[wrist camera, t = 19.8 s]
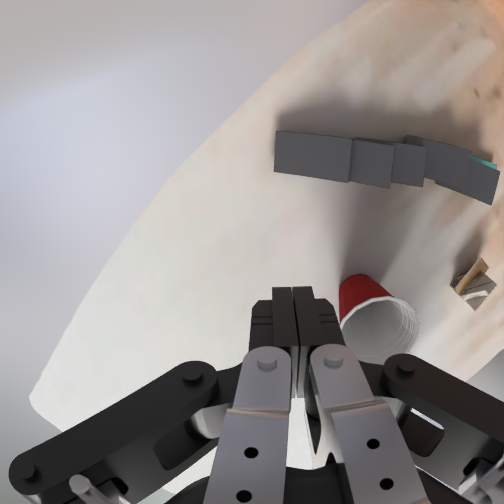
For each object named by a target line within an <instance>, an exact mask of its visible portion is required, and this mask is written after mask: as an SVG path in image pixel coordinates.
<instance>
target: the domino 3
mask: <svg viewBox="0 0 504 504" xmlns="http://www.w3.org/2000/svg"><path fill="white" fill-rule="evenodd" d="M356 140H360V141H367V142H373V143H379V144H385V145H391V146H395V152H394V161H393V169H392V177H391V182H393V183H400V184H406V185H412V186H418V187H423V180H424V171H425V160H426V147H421V146H415V145H409V144H403V143H396V142H389V141H382V140H374V139H366V138H357V137H356Z"/></svg>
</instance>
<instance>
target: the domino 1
mask: <svg viewBox="0 0 504 504" xmlns="http://www.w3.org/2000/svg"><path fill="white" fill-rule="evenodd" d="M353 149H354V139H347V138H340V137H332V136H324V135H315V134H305V133H294V132H282V131H276V144H275V161H274V172H279V173H286V174H294V175H301V176H308V177H314V178H321V179H327V180H333V181H339V182H345V183H348V182H349V181H350V178H351V169H352V160H353Z"/></svg>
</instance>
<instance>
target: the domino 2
mask: <svg viewBox="0 0 504 504" xmlns="http://www.w3.org/2000/svg"><path fill="white" fill-rule="evenodd" d="M394 152H395V146H391V145H385V144H379V143H373V142H367V141H360V140H354V149H353V160H352V169H351V178H350V181H351V182H357V183H362V184H368V185H373V186H378V187H383V188H388V189H389V188H390V185H391V177H392V169H393V161H394Z"/></svg>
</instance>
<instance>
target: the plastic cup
mask: <svg viewBox="0 0 504 504" xmlns="http://www.w3.org/2000/svg"><path fill="white" fill-rule="evenodd" d="M339 317H340V328H341V331H342V335H343V338H344V341H345V344H346V347H348V348H349V349H351V350H352V351H353V352H354V353H355V355H356V357H357V359H358V360H360V361H363V362H366V363H372V364H380V365H384V363H385V361H386V360H387V358H389V357H390V356H392V355H395V354H400V353H405V354H407V353H408V352H409V351H410V349H411V348H412V346H413V344H414V343H415V341H416V339H417V337H418V330H419V320H418V317H417V313H416V310H415V309H414V308H413V307H412V306H410V305H409V304H408V303H407V302H406V301H405V300H403V299H399V298H395V297H394V296H392V295H391V294H390V293H388V292H387V291H386V290H385V289H384V288H383V287H382V286H380V285H379V284H378V283H377V282H375V281H374V280H373V279H372V278H370V277H369V276H366V275H363V274H358V275H353V276H351V277H349V278H347V279H346V280H345V281H344V282H343V283H342V285H341V287H340V290H339Z"/></svg>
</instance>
